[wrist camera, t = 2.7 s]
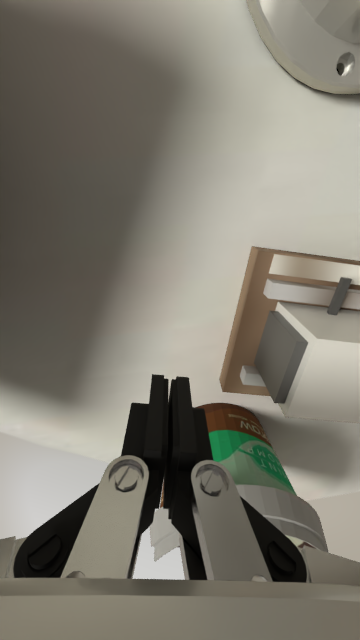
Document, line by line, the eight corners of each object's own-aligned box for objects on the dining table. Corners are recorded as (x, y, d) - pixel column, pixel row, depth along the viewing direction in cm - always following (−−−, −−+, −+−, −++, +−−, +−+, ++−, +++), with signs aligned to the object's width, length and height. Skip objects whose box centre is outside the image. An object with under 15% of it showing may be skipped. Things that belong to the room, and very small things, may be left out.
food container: (304, 423, 24) (384, 559, 15) (263, 462, 26) (312, 602, 17) (191, 370, 21) (204, 499, 12) (156, 419, 23) (145, 559, 14)
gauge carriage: (250, 364, 19) (274, 416, 14) (279, 265, 16) (322, 291, 11) (335, 372, 19) (385, 425, 15) (379, 278, 16) (460, 308, 12)
